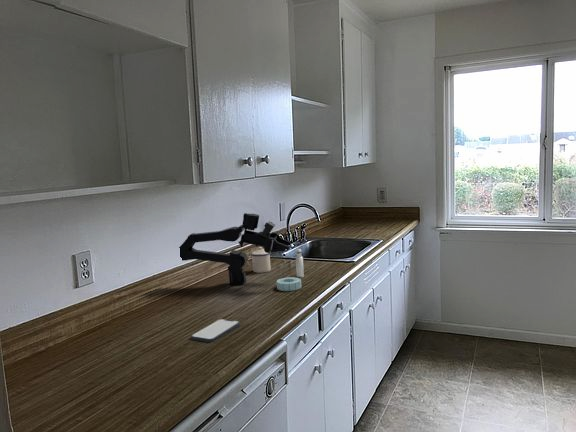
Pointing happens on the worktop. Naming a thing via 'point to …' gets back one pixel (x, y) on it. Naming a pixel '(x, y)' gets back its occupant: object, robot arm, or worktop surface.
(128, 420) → the worktop surface
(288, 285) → the pale blue segmented ring
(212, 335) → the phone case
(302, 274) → the white rounded peg
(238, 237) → the robot arm
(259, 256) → the teacup with lid
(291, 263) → the worktop surface
